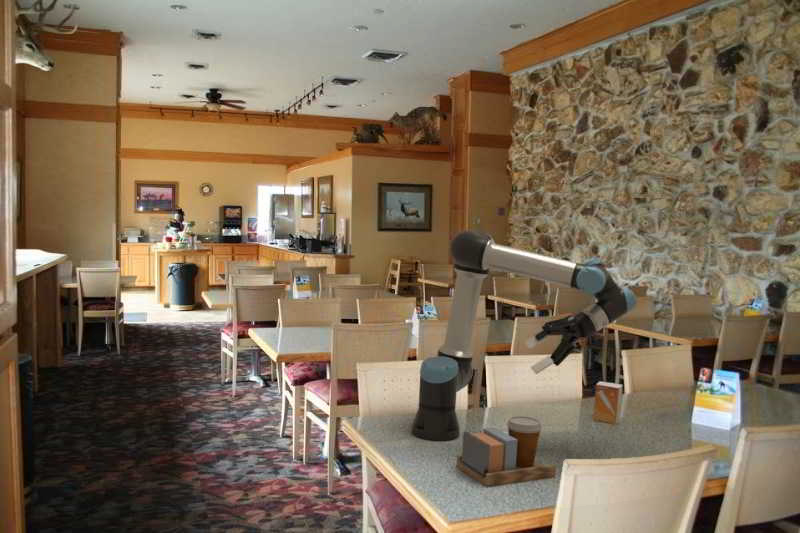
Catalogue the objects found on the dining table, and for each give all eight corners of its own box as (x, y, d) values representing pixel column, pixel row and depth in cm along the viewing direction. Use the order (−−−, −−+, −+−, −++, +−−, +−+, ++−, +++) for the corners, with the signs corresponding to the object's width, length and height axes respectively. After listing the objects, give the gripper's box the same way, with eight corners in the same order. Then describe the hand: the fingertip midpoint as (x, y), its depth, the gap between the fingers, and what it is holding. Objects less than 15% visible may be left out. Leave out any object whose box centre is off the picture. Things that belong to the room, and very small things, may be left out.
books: (491, 459, 185) (493, 427, 185) (515, 473, 175) (517, 439, 175) (466, 462, 181) (468, 429, 181) (488, 477, 172) (490, 442, 171)
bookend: (465, 462, 181) (467, 431, 181) (487, 477, 171) (489, 444, 171) (460, 463, 181) (462, 432, 180) (482, 477, 171) (484, 445, 170)
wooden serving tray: (520, 457, 192) (521, 447, 192) (555, 476, 178) (555, 465, 178) (456, 465, 183) (457, 454, 183) (487, 486, 169) (488, 475, 169)
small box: (592, 420, 235) (595, 383, 235) (597, 416, 241) (599, 380, 240) (616, 424, 231) (619, 387, 231) (620, 420, 237) (622, 384, 236)
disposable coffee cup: (534, 458, 188) (537, 416, 187) (543, 470, 178) (546, 426, 178) (501, 456, 187) (504, 414, 187) (507, 469, 178) (510, 425, 177)
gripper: (594, 304, 189) (532, 343, 186) (599, 352, 207) (543, 388, 204) (577, 288, 194) (517, 326, 192) (584, 336, 212) (529, 371, 209)
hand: (530, 358), depth 198 cm, fingers open, 13 cm apart
